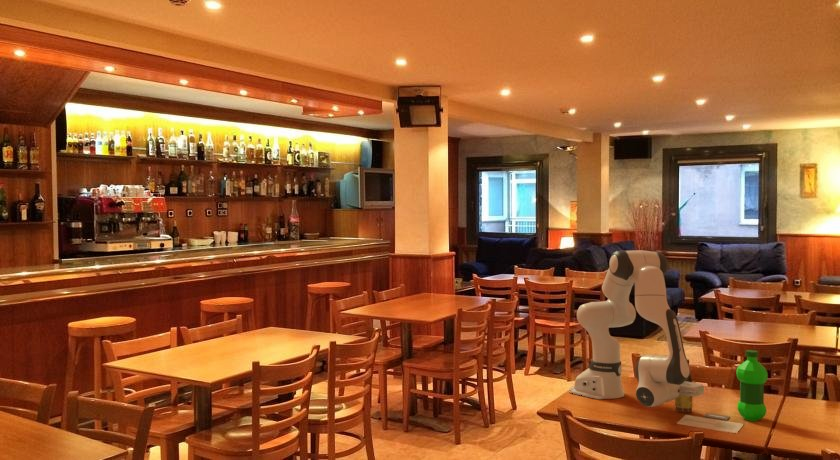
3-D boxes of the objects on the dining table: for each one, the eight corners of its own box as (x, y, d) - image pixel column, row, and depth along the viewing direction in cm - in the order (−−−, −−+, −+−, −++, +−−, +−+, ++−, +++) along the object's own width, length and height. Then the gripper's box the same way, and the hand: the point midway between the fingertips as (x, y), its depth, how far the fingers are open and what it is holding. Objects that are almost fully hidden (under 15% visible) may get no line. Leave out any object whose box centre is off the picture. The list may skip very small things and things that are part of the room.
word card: (703, 417, 256) (703, 416, 256) (706, 413, 260) (706, 412, 260) (726, 420, 251) (726, 419, 251) (729, 417, 256) (729, 416, 255)
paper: (676, 423, 249) (676, 422, 249) (685, 415, 258) (685, 414, 258) (736, 433, 237) (736, 432, 237) (743, 424, 247) (743, 423, 247)
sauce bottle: (693, 414, 260) (694, 361, 259) (676, 413, 261) (676, 360, 260) (690, 409, 266) (691, 357, 266) (673, 408, 268) (673, 357, 267)
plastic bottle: (772, 423, 248) (773, 353, 248) (743, 423, 249) (743, 354, 248) (759, 414, 258) (760, 348, 258) (731, 414, 259) (731, 348, 258)
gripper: (694, 385, 247) (711, 378, 256) (641, 375, 262) (660, 369, 271) (693, 402, 247) (711, 395, 256) (641, 391, 262) (660, 385, 271)
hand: (684, 381), depth 264 cm, fingers closed on sauce bottle, 6 cm apart
